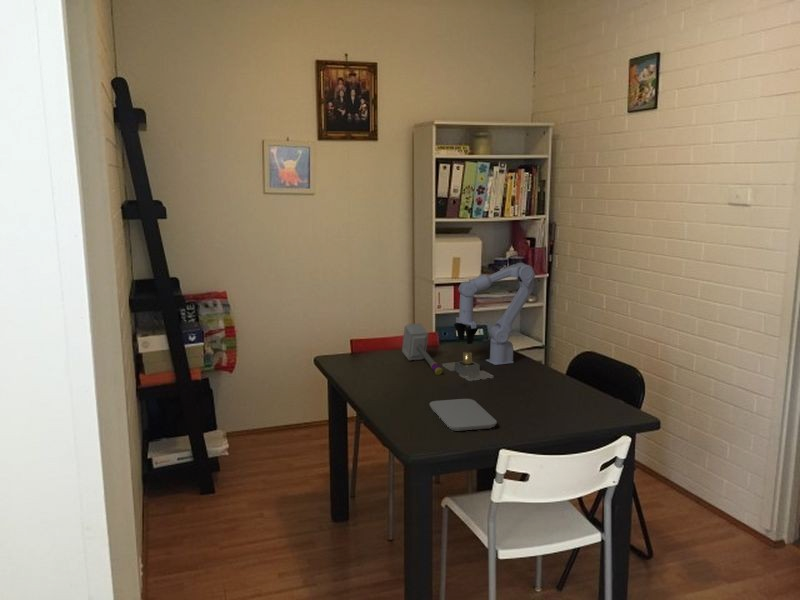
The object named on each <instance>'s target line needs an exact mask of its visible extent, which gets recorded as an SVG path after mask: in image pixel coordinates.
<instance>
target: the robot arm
mask: <svg viewBox="0 0 800 600" xmlns="http://www.w3.org/2000/svg"><path fill="white" fill-rule="evenodd" d="M509 277H512V278H516V279H517V280H518V283H519V288H518V290H517V292H516V293H515V295H514V297H513V299H512V300H511V301H510V303H509V305H508V306H507V308H506V310H505V312H504V313H503V315H502V316H501V318H500V319H498V320H497V321H496V322H495V324H493V325H492V326H491V327H490V328H489V331H488V332H489V336H490V337H491V339H490V343H489V345H490V347H489V348H490V349H489V358H488V359H485V361H486V362H488V363H490V364H492V365H494V366H498V365H507V364H508V365H509V364H514V345H513V342H511V341H510V340H509V338H510V334H511V331H512V328H513V327H512V326H513V323H514V322H515V320H516V319H517V317H518V316H519V314H520V312H521V311H522V310H523V307H524V306H525V304H526V302H527V300H528V299H529V297H530V296H531V294H532V293H533V291H534V287H535V286H534V285H535V278H536V273H535V271H534V268H533V267H532V265H529V264H526V263H524V262H517V263H513V264H511V265H509V266H507V267H504V268H502V269H500V270H499V271H496V272H494V273H492V274H490V275H488V274H482V273H481V274H479V275H478V276H477V277H475V278H472V279H471V278H470V279H469V278H468V281H467V280H465V281H462V282H460V284H459V287H458V288H457V289H458V292H459V293H460V294H459V310H458V311H459V316H458V317H457V316H456V317H455V322H456V323H453V326H454V327H455V330H456V333H457V338H458V340H459V341H462V340H465V336H466V344H467V345H471V344H473V342H474V339H475V337H476V333H477V332H478V331H479V328H478V327H477V323H476V322H475V321H474V295H475V294H476V293H478V292H480V291H483V290H485V289H488V288H490V287H491V285H492V284H493V283H495V282H498V281H501V280H505V279H507V278H509Z"/></svg>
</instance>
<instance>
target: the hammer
mask: <svg viewBox="0 0 800 600" xmlns="http://www.w3.org/2000/svg"><path fill="white" fill-rule="evenodd" d="M403 330H404V331H403V340H402V349H401V352H402V353H403V354H404V356H405V358H407V360H408V361H409V362H413V361H412V360H414V361H421V360H425V361H426V362H427V363H428V364H429V366H430V368H431V370H432V371H433V372H434V374H435V375H436V376H440V375H442V374H443V371H444V370H443V368H442V367H440V365H439V363H438V362H436V361H435V360H434V359H433V358H432V357H431V355H430V354H429V353H428V351H427V346H428V337H429V332H428V331H427V329H426V328H425V327H424V326H423V325H422V323H409V324H407V325H405V326H404V329H403Z"/></svg>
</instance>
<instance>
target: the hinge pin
mask: <svg viewBox="0 0 800 600" xmlns="http://www.w3.org/2000/svg"><path fill="white" fill-rule="evenodd" d="M462 361H463V365H464V366H466V365H472V361H473V352H471V351H463V352H462Z"/></svg>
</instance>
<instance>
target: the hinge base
mask: <svg viewBox="0 0 800 600" xmlns="http://www.w3.org/2000/svg"><path fill="white" fill-rule="evenodd" d="M441 364H442V365H441V366H442V367H444V368H445V369H446V370H448V371H451V372H453V371H454V372H457V373H458V374H459V375H458V376H460V377H461V378H462V379H464V378H465V381H468V382H472V381H473V380H474V381H479V380H480V379H482V380H488V379H487V378H490V379H494V375H493V374H491V373H489V372H488V371H485V370H481V369H480V368H481V366H480V364H478V363H477V362H475V361H473V360H472V365H466V366H464V365H463V360H461V361H453V362H445V363H441Z"/></svg>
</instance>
